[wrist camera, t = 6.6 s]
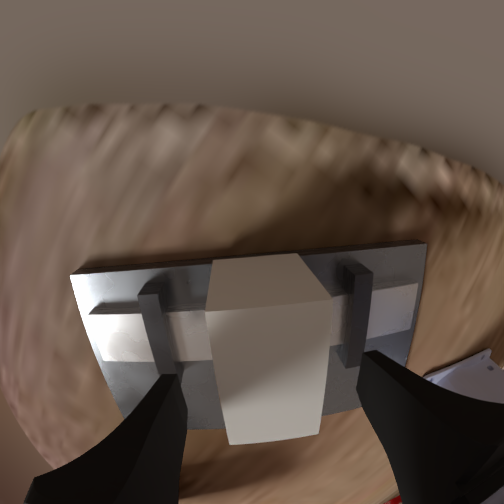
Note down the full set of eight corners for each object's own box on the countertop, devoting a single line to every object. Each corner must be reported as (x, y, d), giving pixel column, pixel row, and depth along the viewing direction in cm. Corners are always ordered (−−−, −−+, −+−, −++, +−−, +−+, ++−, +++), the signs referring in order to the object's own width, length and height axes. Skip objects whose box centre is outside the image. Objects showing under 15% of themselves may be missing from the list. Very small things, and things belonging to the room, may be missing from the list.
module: (297, 253, 14) (333, 298, 9) (296, 367, 16) (318, 433, 11) (212, 260, 13) (204, 311, 8) (227, 374, 15) (229, 445, 10)
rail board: (417, 239, 15) (442, 250, 13) (390, 389, 19) (403, 409, 16) (77, 269, 14) (56, 285, 12) (131, 417, 17) (124, 441, 15)
